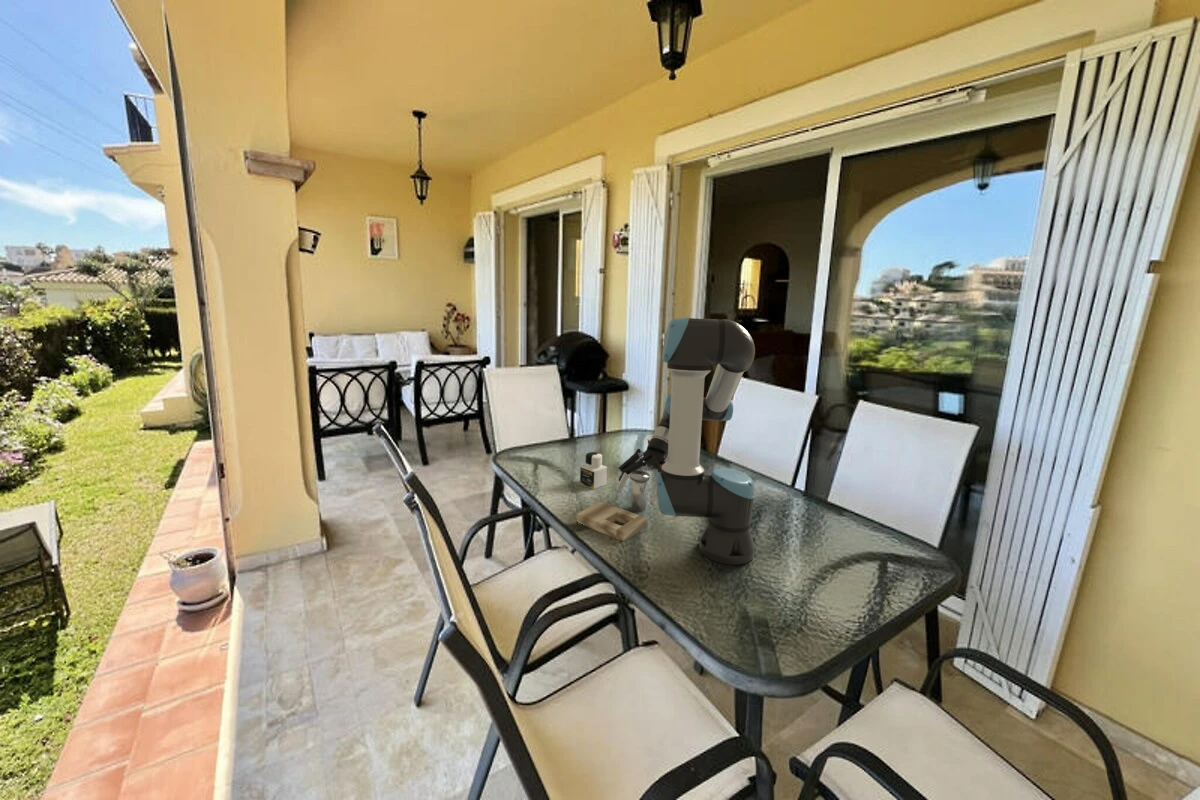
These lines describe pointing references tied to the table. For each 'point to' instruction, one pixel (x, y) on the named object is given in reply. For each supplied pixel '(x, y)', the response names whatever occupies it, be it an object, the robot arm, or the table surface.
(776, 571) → the table surface
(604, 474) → the medicine bottle
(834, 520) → the table surface
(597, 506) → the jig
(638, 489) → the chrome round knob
